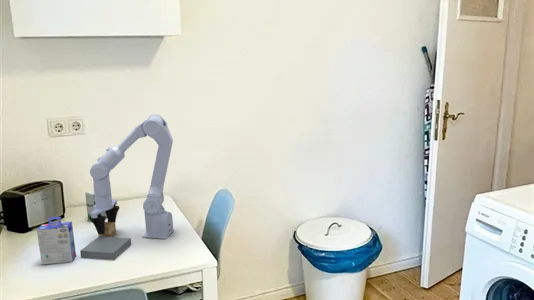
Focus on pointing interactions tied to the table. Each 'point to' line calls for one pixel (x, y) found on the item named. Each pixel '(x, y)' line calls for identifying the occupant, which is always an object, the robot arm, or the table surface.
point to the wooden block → (109, 229)
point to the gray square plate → (105, 248)
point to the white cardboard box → (91, 203)
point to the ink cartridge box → (56, 242)
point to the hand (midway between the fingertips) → (106, 229)
